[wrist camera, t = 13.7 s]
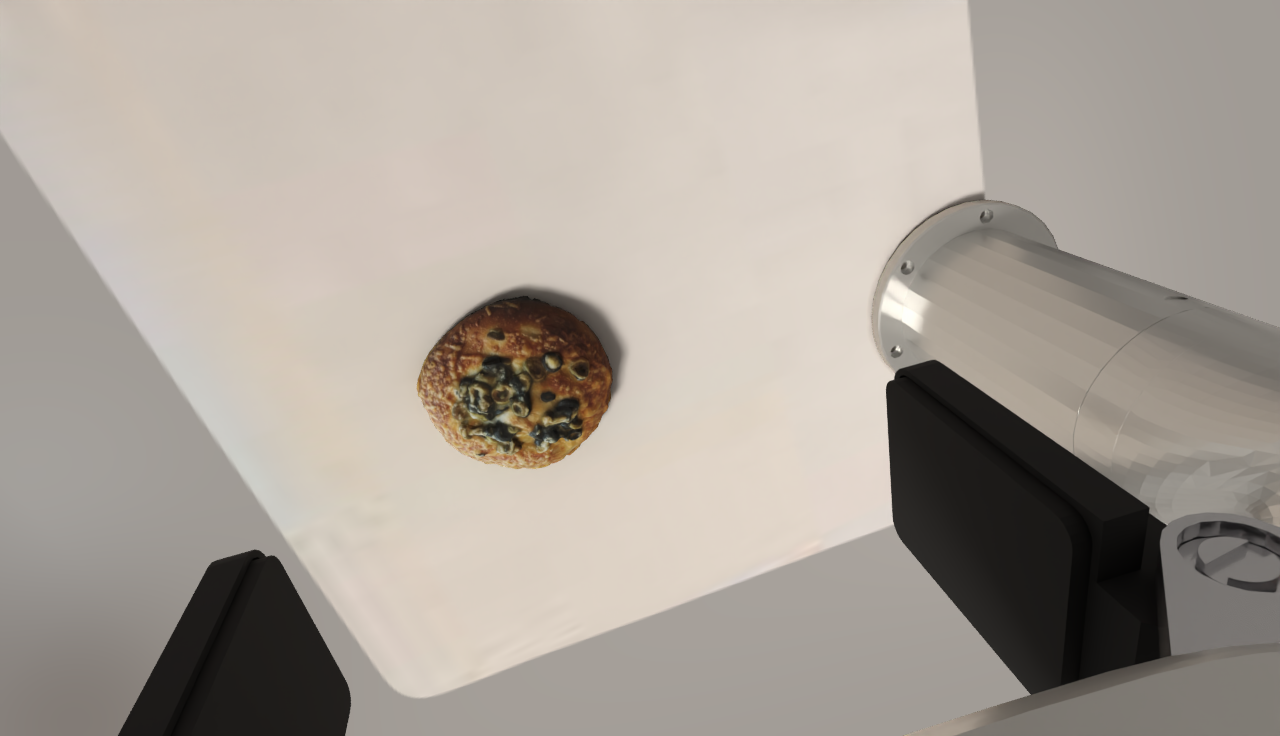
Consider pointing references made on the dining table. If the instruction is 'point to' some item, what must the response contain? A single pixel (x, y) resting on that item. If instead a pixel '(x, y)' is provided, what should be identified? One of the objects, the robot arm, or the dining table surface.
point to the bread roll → (517, 384)
